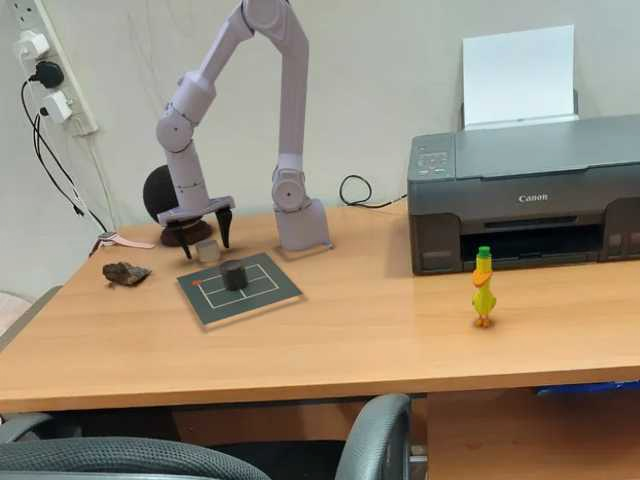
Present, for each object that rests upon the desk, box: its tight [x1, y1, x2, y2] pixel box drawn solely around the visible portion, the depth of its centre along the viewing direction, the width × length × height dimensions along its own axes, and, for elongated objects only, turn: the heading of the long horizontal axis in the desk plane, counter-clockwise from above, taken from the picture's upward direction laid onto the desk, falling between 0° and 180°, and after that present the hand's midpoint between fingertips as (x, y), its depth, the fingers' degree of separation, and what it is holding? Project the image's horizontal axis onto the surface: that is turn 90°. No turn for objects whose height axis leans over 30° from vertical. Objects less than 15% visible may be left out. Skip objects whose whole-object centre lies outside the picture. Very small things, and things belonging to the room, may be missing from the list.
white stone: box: [194, 238, 222, 263], centre depth 131 cm, size 4×4×4 cm
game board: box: [176, 251, 304, 326], centre depth 120 cm, size 18×22×1 cm
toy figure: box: [471, 246, 497, 328], centre depth 98 cm, size 7×4×12 cm, turn 158°
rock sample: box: [101, 261, 153, 286], centre depth 128 cm, size 10×8×9 cm
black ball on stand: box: [142, 163, 213, 248], centre depth 141 cm, size 13×13×15 cm
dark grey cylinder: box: [219, 258, 249, 291], centre depth 119 cm, size 4×4×4 cm
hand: (208, 252), depth 131 cm, fingers open, 7 cm apart
